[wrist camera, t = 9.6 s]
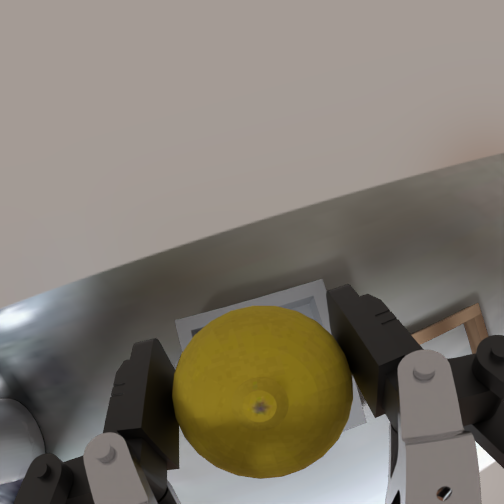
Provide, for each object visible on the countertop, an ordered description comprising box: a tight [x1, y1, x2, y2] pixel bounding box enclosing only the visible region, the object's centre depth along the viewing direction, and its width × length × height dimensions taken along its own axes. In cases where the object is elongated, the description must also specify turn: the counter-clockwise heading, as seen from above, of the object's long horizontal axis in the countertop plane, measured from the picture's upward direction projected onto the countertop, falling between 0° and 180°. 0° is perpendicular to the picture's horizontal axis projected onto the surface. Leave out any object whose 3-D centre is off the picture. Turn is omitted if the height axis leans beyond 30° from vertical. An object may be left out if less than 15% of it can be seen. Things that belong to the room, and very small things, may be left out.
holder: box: [175, 279, 367, 432], centre depth 22 cm, size 11×11×4 cm
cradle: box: [411, 303, 489, 354], centre depth 21 cm, size 10×10×2 cm
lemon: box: [172, 306, 353, 479], centre depth 9 cm, size 6×6×8 cm
